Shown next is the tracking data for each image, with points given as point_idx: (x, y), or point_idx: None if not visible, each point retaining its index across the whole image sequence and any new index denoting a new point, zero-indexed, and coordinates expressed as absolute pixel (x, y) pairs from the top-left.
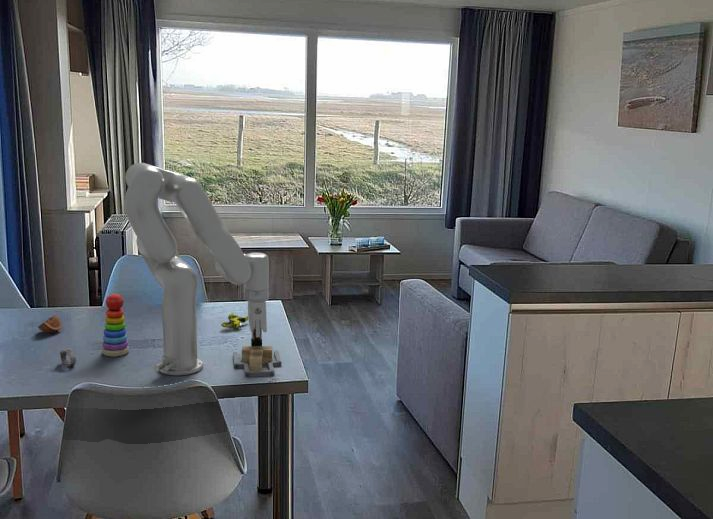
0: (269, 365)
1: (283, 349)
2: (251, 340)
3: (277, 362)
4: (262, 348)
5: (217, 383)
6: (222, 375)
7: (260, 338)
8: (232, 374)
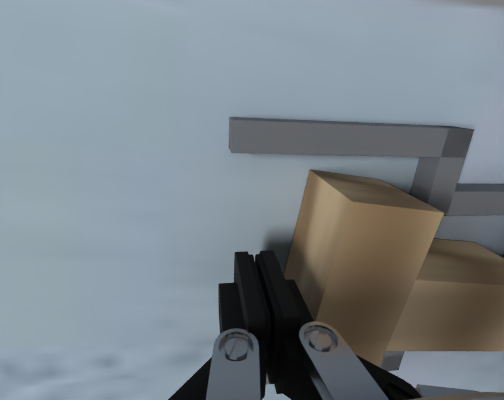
0: (489, 211)
1: (118, 50)
2: (277, 385)
3: (463, 157)
4: (380, 281)
5: (501, 390)
6: (440, 384)
7: (342, 348)
8: (447, 354)
